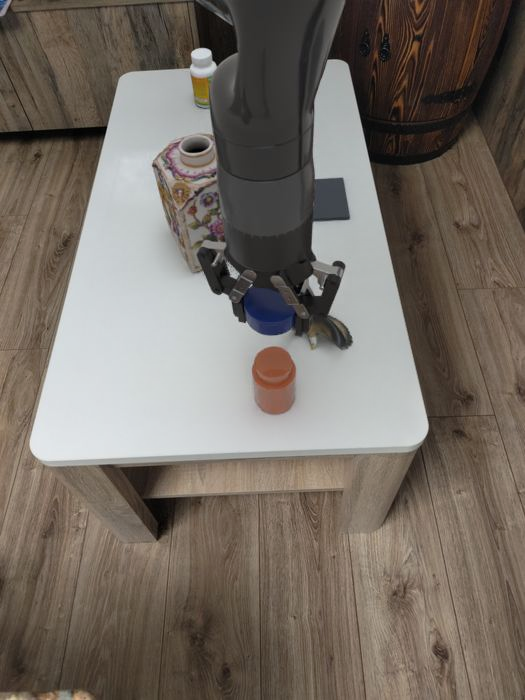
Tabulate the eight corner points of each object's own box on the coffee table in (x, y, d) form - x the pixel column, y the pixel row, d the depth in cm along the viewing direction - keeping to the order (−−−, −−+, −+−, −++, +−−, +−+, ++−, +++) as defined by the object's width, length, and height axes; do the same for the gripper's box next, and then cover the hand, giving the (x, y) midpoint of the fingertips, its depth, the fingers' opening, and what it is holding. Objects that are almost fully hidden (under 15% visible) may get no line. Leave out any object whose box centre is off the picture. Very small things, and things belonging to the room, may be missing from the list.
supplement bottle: (213, 111, 102) (206, 62, 94) (190, 105, 104) (182, 57, 95) (225, 97, 105) (220, 48, 97) (202, 91, 106) (195, 43, 98)
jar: (288, 374, 68) (288, 337, 61) (300, 408, 65) (302, 374, 58) (250, 384, 68) (245, 348, 60) (261, 419, 65) (257, 386, 57)
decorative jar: (191, 276, 79) (169, 182, 63) (167, 229, 84) (141, 133, 69) (260, 250, 81) (254, 154, 66) (232, 206, 87) (220, 108, 72)
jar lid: (237, 328, 52) (235, 315, 50) (254, 287, 55) (253, 273, 53) (290, 341, 51) (290, 328, 49) (305, 298, 53) (306, 285, 52)
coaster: (342, 180, 89) (343, 177, 89) (349, 219, 84) (350, 216, 83) (286, 183, 89) (286, 180, 89) (290, 222, 84) (290, 219, 84)
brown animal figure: (281, 356, 69) (346, 363, 66) (279, 307, 66) (347, 311, 63) (296, 336, 75) (356, 341, 72) (295, 290, 72) (357, 294, 69)
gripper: (165, 215, 39) (198, 335, 54) (344, 250, 36) (329, 367, 51) (200, 156, 43) (222, 283, 57) (365, 184, 40) (346, 311, 54)
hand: (272, 322), depth 54 cm, fingers closed on jar lid, 5 cm apart
